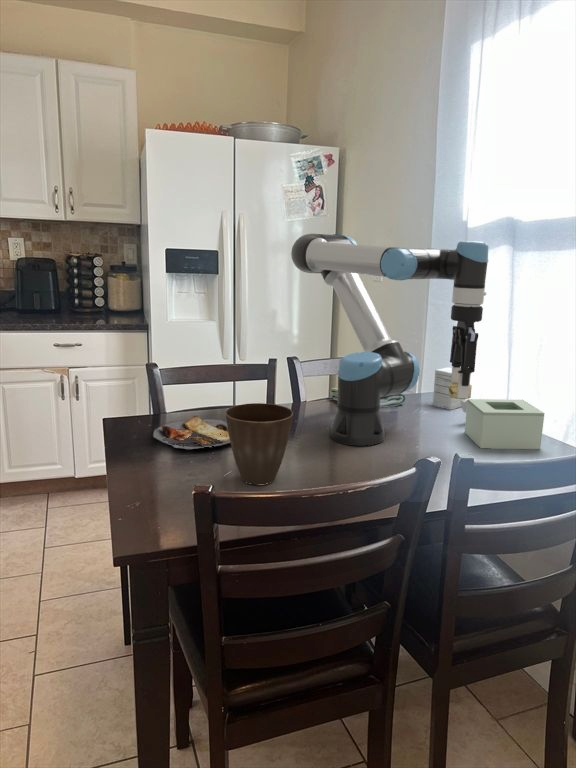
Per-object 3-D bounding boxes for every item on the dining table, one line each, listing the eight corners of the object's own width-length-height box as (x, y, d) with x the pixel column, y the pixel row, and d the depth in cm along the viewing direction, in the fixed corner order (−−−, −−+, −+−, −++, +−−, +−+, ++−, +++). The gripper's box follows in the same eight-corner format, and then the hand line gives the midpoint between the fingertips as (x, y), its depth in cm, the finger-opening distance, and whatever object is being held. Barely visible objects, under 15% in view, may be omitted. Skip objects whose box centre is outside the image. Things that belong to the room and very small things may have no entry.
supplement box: (444, 402, 200) (447, 366, 197) (463, 406, 194) (466, 370, 191) (431, 405, 195) (434, 369, 192) (450, 410, 190) (453, 373, 187)
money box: (480, 448, 153) (483, 412, 151) (464, 432, 166) (467, 399, 164) (540, 449, 153) (544, 413, 151) (519, 432, 167) (523, 399, 164)
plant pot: (293, 468, 137) (294, 404, 133) (289, 494, 122) (291, 422, 119) (231, 466, 138) (231, 402, 134) (220, 491, 123) (219, 420, 120)
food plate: (137, 436, 159) (137, 424, 158) (205, 420, 175) (205, 409, 174) (191, 462, 142) (191, 448, 141) (260, 442, 158) (260, 430, 157)
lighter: (475, 421, 178) (477, 396, 176) (479, 422, 176) (481, 397, 174) (458, 424, 174) (460, 398, 173) (462, 425, 173) (464, 400, 171)
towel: (327, 398, 204) (328, 384, 203) (380, 394, 211) (381, 380, 210) (350, 411, 188) (350, 396, 186) (406, 406, 195) (407, 392, 194)
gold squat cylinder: (451, 398, 146) (452, 387, 145) (445, 393, 151) (446, 382, 151) (473, 399, 146) (474, 387, 145) (466, 393, 152) (467, 382, 151)
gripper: (495, 309, 134) (485, 404, 140) (470, 301, 152) (462, 386, 158) (463, 308, 134) (454, 403, 140) (442, 301, 152) (435, 385, 158)
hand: (458, 394), depth 149 cm, fingers closed on gold squat cylinder, 5 cm apart
